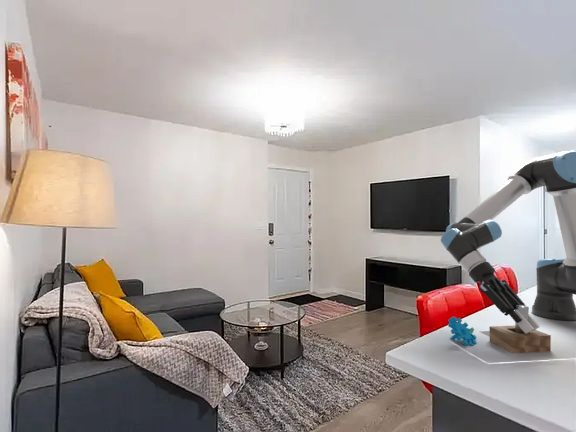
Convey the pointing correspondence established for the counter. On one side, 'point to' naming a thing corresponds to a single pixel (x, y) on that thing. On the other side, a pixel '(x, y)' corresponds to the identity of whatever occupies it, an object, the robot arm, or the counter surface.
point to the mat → (486, 333)
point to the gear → (461, 331)
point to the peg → (524, 312)
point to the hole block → (520, 340)
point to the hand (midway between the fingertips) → (532, 330)
